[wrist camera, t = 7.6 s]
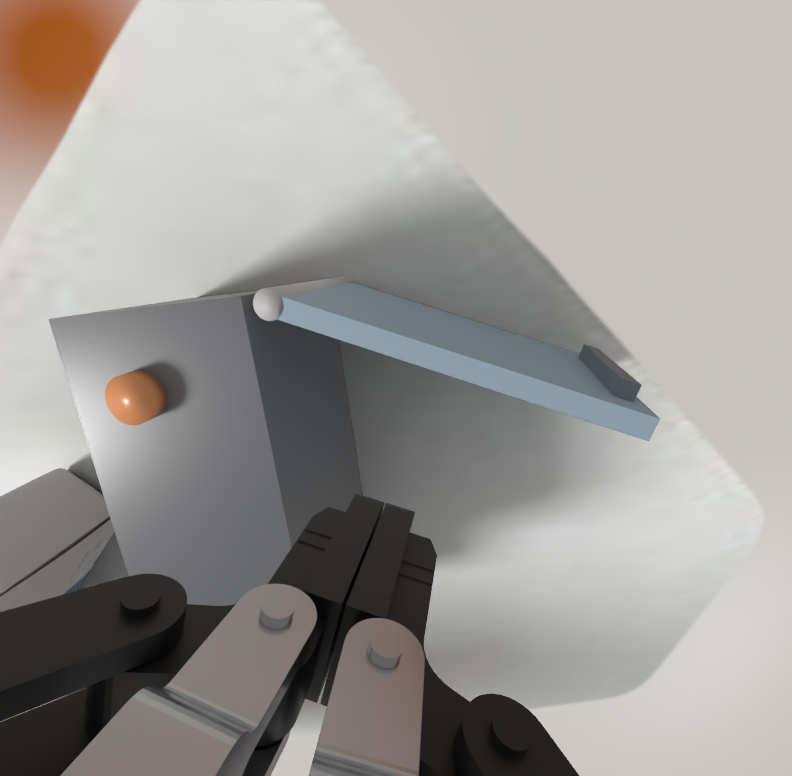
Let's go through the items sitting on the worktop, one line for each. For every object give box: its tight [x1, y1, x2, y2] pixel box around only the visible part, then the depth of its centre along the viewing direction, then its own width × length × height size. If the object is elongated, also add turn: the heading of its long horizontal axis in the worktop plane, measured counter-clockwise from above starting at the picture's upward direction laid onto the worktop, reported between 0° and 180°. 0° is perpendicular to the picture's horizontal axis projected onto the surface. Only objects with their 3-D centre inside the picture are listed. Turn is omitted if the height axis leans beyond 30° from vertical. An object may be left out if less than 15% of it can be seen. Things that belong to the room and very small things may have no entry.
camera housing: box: [49, 290, 363, 606], centre depth 29 cm, size 23×10×13 cm, turn 7°
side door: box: [253, 277, 660, 441], centre depth 24 cm, size 17×2×11 cm, turn 74°
